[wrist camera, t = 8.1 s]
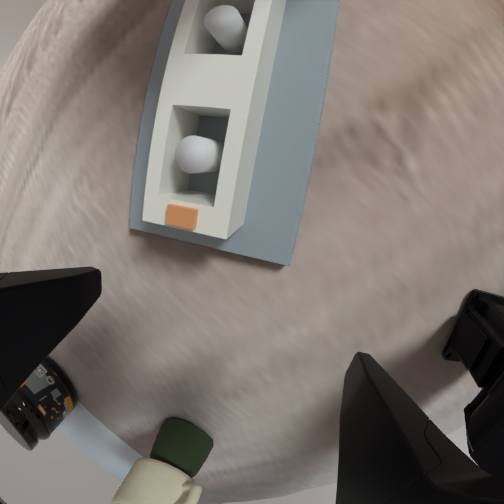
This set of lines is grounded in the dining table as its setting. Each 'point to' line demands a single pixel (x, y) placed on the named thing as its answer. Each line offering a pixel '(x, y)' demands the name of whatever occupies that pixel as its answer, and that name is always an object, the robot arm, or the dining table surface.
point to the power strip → (213, 105)
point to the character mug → (168, 467)
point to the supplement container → (39, 405)
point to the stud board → (271, 136)
